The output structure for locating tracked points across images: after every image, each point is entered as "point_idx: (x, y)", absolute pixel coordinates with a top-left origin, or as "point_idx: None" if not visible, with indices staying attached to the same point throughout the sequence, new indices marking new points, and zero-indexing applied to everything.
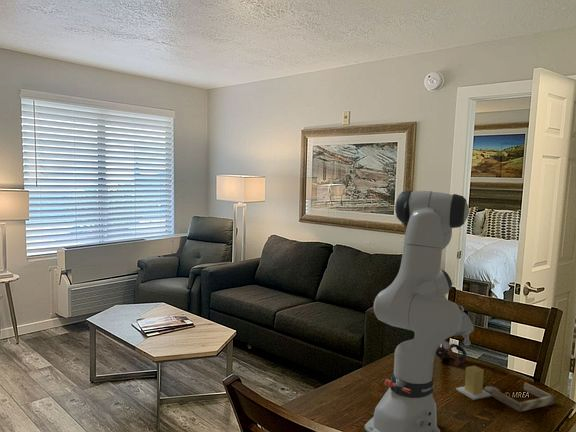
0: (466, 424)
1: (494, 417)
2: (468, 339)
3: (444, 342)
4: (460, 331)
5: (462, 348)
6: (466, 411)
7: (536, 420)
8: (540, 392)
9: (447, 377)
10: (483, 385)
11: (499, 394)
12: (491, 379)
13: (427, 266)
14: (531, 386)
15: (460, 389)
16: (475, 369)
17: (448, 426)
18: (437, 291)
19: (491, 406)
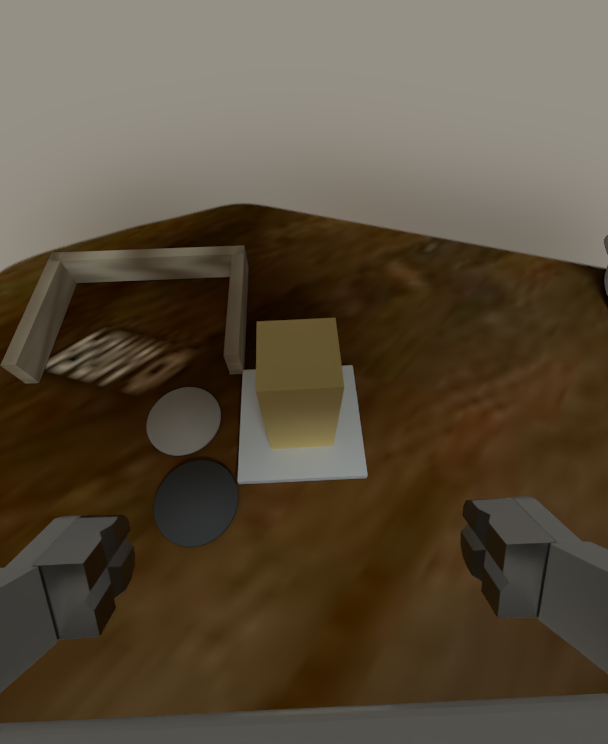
0: (488, 258)
1: (363, 265)
2: (23, 558)
3: (586, 552)
4: (8, 725)
5: None
6: (440, 312)
7: (244, 228)
8: (50, 298)
9: (305, 661)
10: (186, 465)
11: (240, 323)
12: None
13: None
14: (30, 330)
15: (355, 452)
16: (303, 341)
17: (557, 263)
18: None
19: (315, 315)
